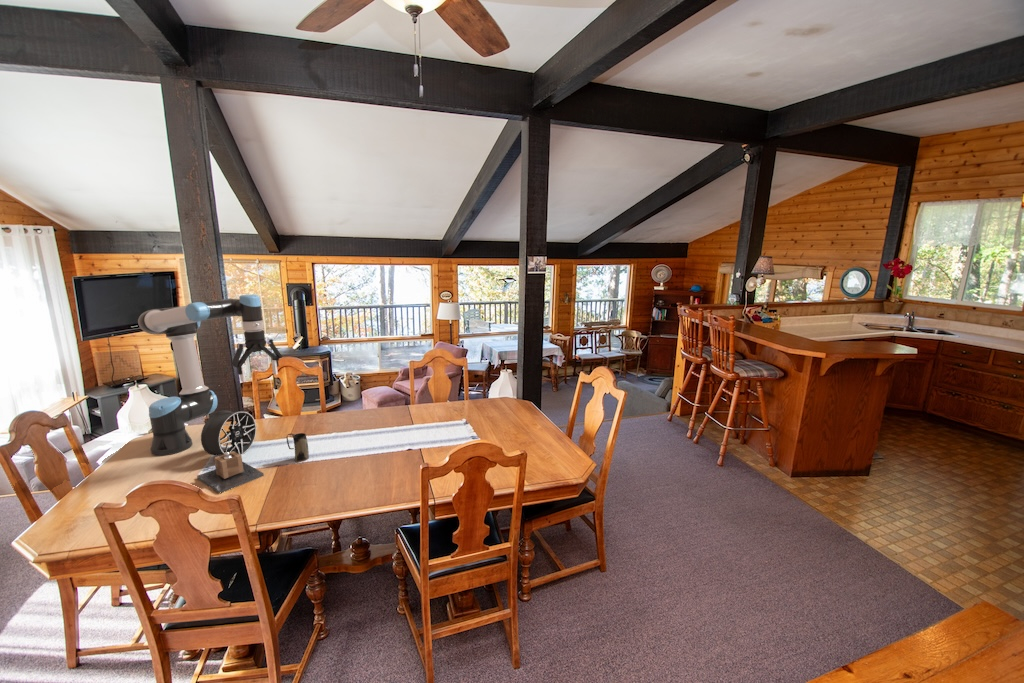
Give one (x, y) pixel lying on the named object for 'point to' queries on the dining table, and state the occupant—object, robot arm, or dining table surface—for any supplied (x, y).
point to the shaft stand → (225, 484)
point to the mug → (300, 447)
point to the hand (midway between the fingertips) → (259, 377)
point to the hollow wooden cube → (229, 465)
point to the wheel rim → (228, 432)
